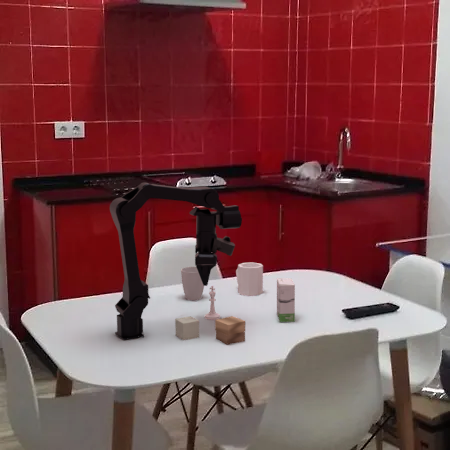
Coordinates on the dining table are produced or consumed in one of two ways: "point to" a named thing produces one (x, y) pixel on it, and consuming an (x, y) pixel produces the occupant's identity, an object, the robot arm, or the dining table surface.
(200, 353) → the dining table surface
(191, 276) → the cup
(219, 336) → the tower base
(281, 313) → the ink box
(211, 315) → the chess piece
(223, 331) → the tower top
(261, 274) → the mug
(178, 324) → the cube
